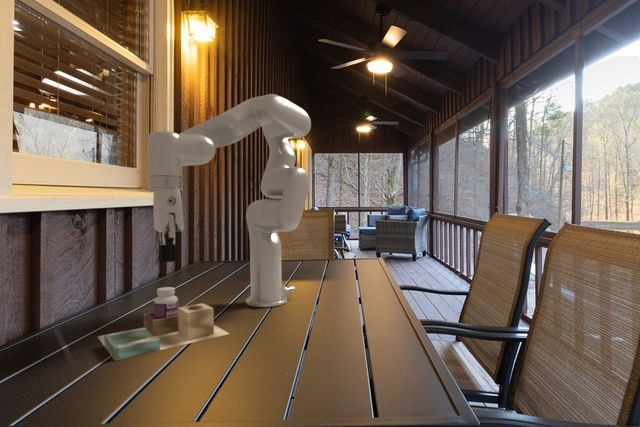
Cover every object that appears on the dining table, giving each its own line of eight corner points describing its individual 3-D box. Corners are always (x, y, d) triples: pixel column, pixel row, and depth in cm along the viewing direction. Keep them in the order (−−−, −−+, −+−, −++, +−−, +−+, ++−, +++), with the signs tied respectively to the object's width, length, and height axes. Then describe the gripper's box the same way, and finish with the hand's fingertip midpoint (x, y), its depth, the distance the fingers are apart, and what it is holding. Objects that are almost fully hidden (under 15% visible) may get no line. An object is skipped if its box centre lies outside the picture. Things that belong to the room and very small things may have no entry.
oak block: (203, 328, 97) (202, 302, 97) (213, 334, 92) (213, 308, 92) (178, 333, 93) (177, 307, 93) (188, 340, 88) (187, 312, 88)
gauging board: (199, 319, 107) (199, 308, 106) (229, 337, 93) (229, 324, 92) (97, 339, 92) (96, 326, 92) (115, 364, 78) (114, 349, 77)
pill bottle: (170, 332, 94) (169, 291, 94) (150, 331, 95) (149, 290, 95) (182, 325, 99) (181, 286, 99) (163, 324, 100) (162, 285, 100)
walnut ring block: (177, 321, 102) (176, 307, 102) (188, 329, 96) (188, 314, 96) (144, 327, 97) (143, 313, 97) (154, 336, 91) (153, 321, 91)
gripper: (190, 183, 92) (192, 263, 92) (174, 185, 104) (176, 256, 105) (155, 183, 88) (158, 267, 88) (143, 185, 100) (145, 259, 101)
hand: (167, 261), depth 96 cm, fingers closed
